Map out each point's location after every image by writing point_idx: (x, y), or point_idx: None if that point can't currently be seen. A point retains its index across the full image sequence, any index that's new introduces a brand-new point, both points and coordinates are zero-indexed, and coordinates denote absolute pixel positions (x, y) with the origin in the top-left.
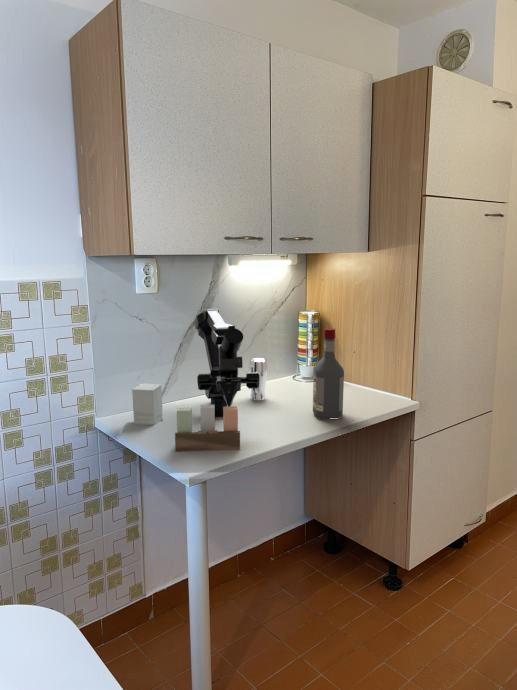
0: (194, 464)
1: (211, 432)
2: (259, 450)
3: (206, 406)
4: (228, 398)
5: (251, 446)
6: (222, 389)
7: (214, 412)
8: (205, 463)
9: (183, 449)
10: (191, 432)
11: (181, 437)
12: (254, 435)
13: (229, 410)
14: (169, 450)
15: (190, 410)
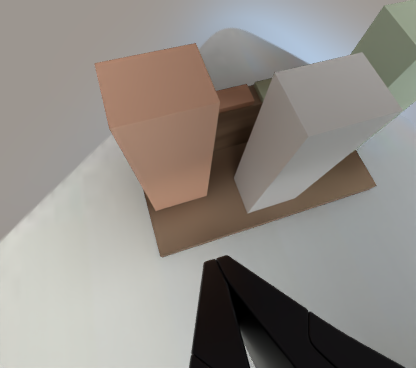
0: (244, 69)
1: (235, 88)
2: (71, 195)
3: (341, 84)
4: (239, 291)
5: (104, 226)
6: (401, 366)
7: (265, 96)
8: (219, 78)
9: None
10: None
11: None
12: (105, 364)
13: (155, 55)
14: None
15: (389, 6)
